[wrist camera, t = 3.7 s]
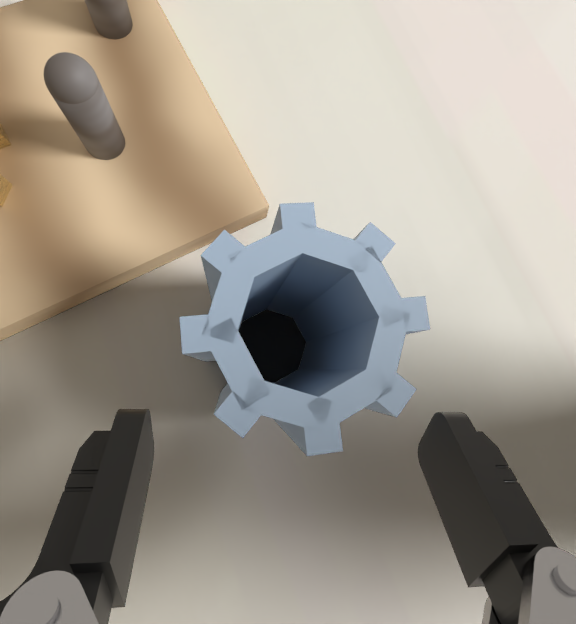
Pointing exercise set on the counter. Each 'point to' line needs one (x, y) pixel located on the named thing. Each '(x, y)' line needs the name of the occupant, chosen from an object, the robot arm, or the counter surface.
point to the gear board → (107, 199)
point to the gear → (3, 186)
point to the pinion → (307, 327)
